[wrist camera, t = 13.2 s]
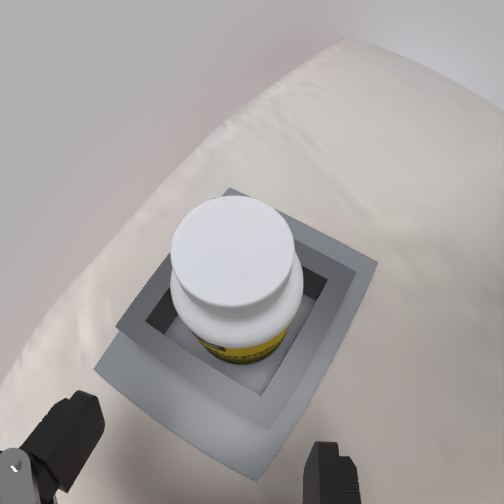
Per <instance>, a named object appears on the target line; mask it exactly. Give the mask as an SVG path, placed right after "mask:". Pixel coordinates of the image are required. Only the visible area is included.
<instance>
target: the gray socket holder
mask: <svg viewBox="0 0 504 504" xmlns="http://www.w3.org/2000/svg"><path fill="white" fill-rule="evenodd" d="M223 196H245V197H249V196H247V195H245V194H243V193H240V192H238V191H236V190H234V189H232V188H230V187H229V188H228V190H227V191H226V192H225V193H224V194H223ZM223 196H222V197H223ZM250 198H251V197H250ZM213 199H214V198H213ZM275 210H276V209H275ZM276 211H277V212H278V213H279V214H280V215H281V216H282V217H283V218H284V220H285V221H286V223H287V224H288V226H289V228H290V230H291V233H292V236H293V239H294V246H295V252H296V254H297V256H298V258H299V261H300V264H301V267H302V271H303V295H302V299H301V303H300V306H299V309H298V311H297V313H296V315H295V317H294V319H293V321H292V323H291V325H290V327H289V329H288V331H287V333H286V335H285V337H284V339H283V341H282V342H281V344H280V345H279V347H278V348H277V349H276V350H275V351H274V352H273V353H272V354H271V355H270V356H268V357H267V358H265V359H263V360H261V361H259V362H256V363H252V364H246V365H237V364H231V363H227V362H225V361H222V360H220V359H218V358H217V357H215V356H213V355H212V354H211V353H210V352H209V351H208V350H207V349H206V348H205V347H204V346H203V345H202V344H201V343H200V342H199V340H198V339H197V338H196V337H195V336H194V334H193V333H192V332H191V331H190V330H189V329H188V328H187V327H186V325H185V324H184V323H183V321H182V320H181V318H180V316H179V315H178V313H177V311H176V309H175V306H174V304H173V300H172V296H171V290H170V281H171V273H172V269H173V268H172V264H171V257H170V253H169V254H168V256H167V257H166V258H165V260H164V261H163V262H162V263H161V265H160V266H159V267H158V269H157V270H156V271H155V273H154V274H153V275H152V277H151V278H150V279H149V281H148V282H147V283H146V285H145V286H144V287H143V289H142V290H141V291H140V293H139V294H138V296H137V297H136V298H135V300H134V301H133V302H132V304H131V305H130V307H129V308H128V309H127V311H126V312H125V313H124V315H123V316H122V318H121V319H120V321H119V322H118V323H117V325H116V326H115V327H116V328H117V329H119V330H120V331H119V333H118V334H117V335H116V337H115V338H114V340H113V341H112V343H111V344H110V346H109V347H108V348H107V350H106V351H105V353H104V354H103V356H102V357H101V359H100V360H99V362H98V363H97V365H96V366H95V368H94V369H93V370H95V371H96V372H97V373H98V374H99V375H100V376H101V377H102V378H103V379H105V380H106V381H107V382H108V383H109V384H110V385H112V386H113V387H114V388H115V389H116V390H117V391H119V392H120V393H121V394H122V395H124V396H125V397H126V398H127V399H128V400H130V401H131V402H132V403H134V404H135V405H136V406H137V407H139V408H140V409H141V410H143V411H144V412H145V413H146V414H148V415H149V416H150V417H152V418H153V419H155V420H156V421H157V422H159V423H160V424H161V425H163V426H164V427H166V428H167V429H168V430H170V431H171V432H173V433H174V434H176V435H177V436H179V437H180V438H182V439H183V440H185V441H186V442H188V443H189V444H191V445H192V446H194V447H196V448H197V449H199V450H200V451H202V452H203V453H205V454H207V455H208V456H210V457H212V458H213V459H215V460H217V461H218V462H220V463H222V464H224V465H225V466H227V467H229V468H231V469H233V470H234V471H236V472H238V473H240V474H242V475H244V476H245V477H247V478H249V479H251V480H253V481H255V482H257V481H258V480H259V479H260V477H261V476H262V474H263V473H264V471H265V470H266V469H267V467H268V466H269V464H270V463H271V461H272V460H273V458H274V457H275V455H276V454H277V452H278V451H279V449H280V448H281V446H282V445H283V443H284V442H285V440H286V439H287V437H288V436H289V434H290V432H291V431H292V429H293V428H294V426H295V424H296V423H297V421H298V420H299V418H300V416H301V415H302V413H303V411H304V410H305V408H306V406H307V405H308V403H309V401H310V399H311V398H312V396H313V394H314V393H315V391H316V389H317V387H318V385H319V384H320V382H321V380H322V378H323V377H324V375H325V373H326V371H327V369H328V367H329V365H330V364H331V362H332V360H333V358H334V356H335V354H336V352H337V350H338V348H339V346H340V344H341V342H342V340H343V338H344V336H345V334H346V332H347V330H348V328H349V326H350V324H351V322H352V320H353V318H354V316H355V314H356V312H357V310H358V307H359V305H360V303H361V301H362V299H363V297H364V294H365V292H366V290H367V288H368V285H369V283H370V281H371V279H372V276H373V274H374V271H375V269H376V267H377V264H378V262H377V261H375V260H373V259H371V258H369V257H367V256H366V255H364V254H362V253H360V252H358V251H356V250H354V249H352V248H350V247H349V246H347V245H345V244H343V243H341V242H339V241H337V240H335V239H333V238H331V237H329V236H328V235H326V234H324V233H322V232H320V231H318V230H316V229H314V228H312V227H310V226H308V225H306V224H304V223H302V222H300V221H298V220H296V219H294V218H292V217H290V216H288V215H286V214H284V213H282V212H280V211H278V210H276Z"/></svg>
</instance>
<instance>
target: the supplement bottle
mask: <svg viewBox="0 0 504 504" xmlns="http://www.w3.org/2000/svg"><path fill="white" fill-rule="evenodd" d="M170 257H171V264H172V268H173V269H172V273H171V281H170V290H171V296H172V300H173V304H174V306H175V309H176V311H177V313H178V315H179V316H180V318H181V320H182V321H183V323H184V324H185V325H186V327H187V328H188V329H189V330H190V331H191V332H192V333H193V334H194V336H195V337H196V338H197V339H198V340H199V342H200V343H201V344H202V345H203V346H204V347H205V348H206V349H207V350H208V351H209V352H210V353H211V354H212V355H213V356H215V357H217V358H218V359H220V360H222V361H225V362H227V363H231V364H237V365H246V364H252V363H256V362H259V361H261V360H263V359H265V358H267V357H268V356H270V355H271V354H272V353H273V352H274V351H275V350H276V349H277V348H278V347H279V345H280V344H281V342H282V341H283V339H284V337H285V335H286V333H287V331H288V329H289V327H290V325H291V323H292V321H293V319H294V317H295V315H296V313H297V311H298V309H299V306H300V303H301V299H302V295H303V271H302V267H301V264H300V261H299V258H298V256H297V254H296V252H295V246H294V239H293V236H292V233H291V230H290V228H289V226H288V224H287V223H286V221H285V220H284V218H283V217H282V216H281V215H280V214H279V213H278V212H277V211H276V210H275V209H274V208H272V207H271V206H269V205H268V204H266V203H264V202H262V201H260V200H257V199H254V198H250V197H245V196H223V197H218V198H215V199H211V200H209V201H206V202H204V203H202V204H200V205H199V206H197V207H196V208H194V209H193V210H191V211H190V212H189V213H188V214H187V215H186V216H185V217H184V218H183V220H182V221H181V222H180V224H179V225H178V227H177V229H176V231H175V233H174V236H173V238H172V243H171V251H170Z"/></svg>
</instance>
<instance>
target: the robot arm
mask: <svg viewBox="0 0 504 504" xmlns="http://www.w3.org/2000/svg"><path fill="white" fill-rule="evenodd" d="M104 428H105V421H104V418H103V414H102V411H101V407H100V404H99V400H98V398H97V397H96V396H94V395H91V394H89V393H86V392H83V391H81V390H78V391H76V392H75V393H74V394H73V396H72V397H71V398H70V399H67V398H64V399H63V400H61V401H59V402H58V403H56V404H54V406H53V407H52V408H51V409H50V411H49V412H48V414H47V415H45V417H44V418H43V419H42V422H40V423H39V424H38V425H37V427H36V428H35V429H34V430H33V432H32V433H31V434H30V436H29V437H28V438H27V439H26V441H25V442H24V443H23V444H22V446H21V447H19V448H9V449H6V450H4V451H0V504H58V503H57V499H56V495H55V493H56V491H57V490H58V489H60V490H62V491H64V492H66V493H68V492H69V490H70V488H71V486H72V485H73V483H74V481H75V480H76V478H77V476H78V475H79V473H80V471H81V469H82V468H83V466H84V464H85V463H86V461H87V459H88V458H89V456H90V454H91V453H92V451H93V449H94V448H95V446H96V444H97V443H98V441H99V440H100V438H101V436H102V434H103V432H104ZM303 504H361V498H360V492H359V482H358V475H357V468H356V466H355V464H354V463H353V461H352V460H351V458H350V457H349V456H339V450H338V444H337V442H321V441H316V442H315V443H314V445H313V448H312V450H311V452H310V455H309V457H308V459H307V462H306V464H305V468H304V475H303Z"/></svg>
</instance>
